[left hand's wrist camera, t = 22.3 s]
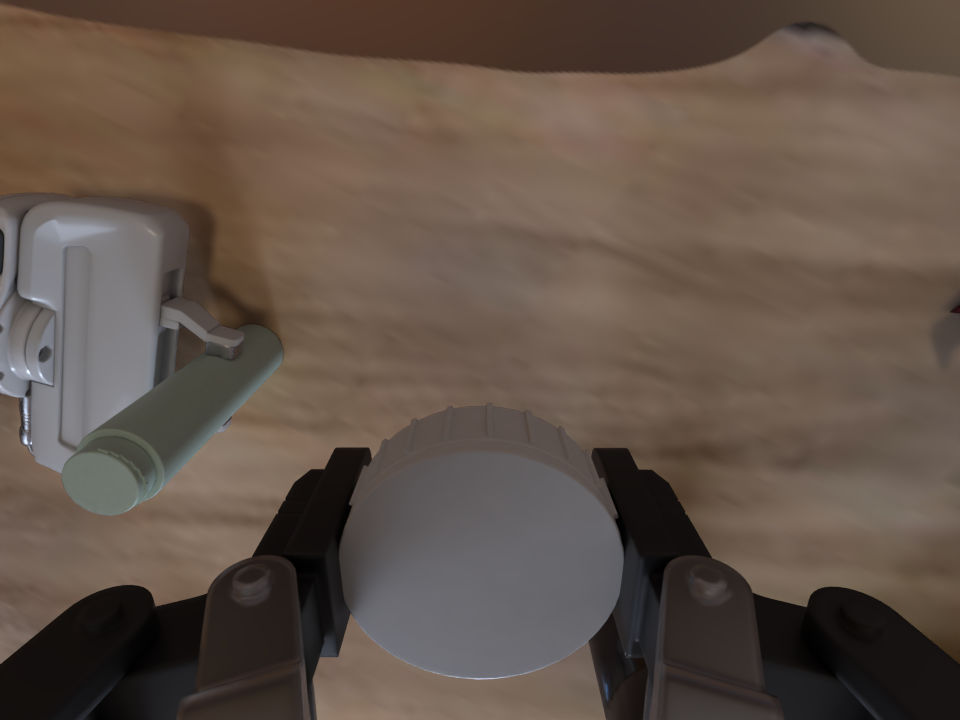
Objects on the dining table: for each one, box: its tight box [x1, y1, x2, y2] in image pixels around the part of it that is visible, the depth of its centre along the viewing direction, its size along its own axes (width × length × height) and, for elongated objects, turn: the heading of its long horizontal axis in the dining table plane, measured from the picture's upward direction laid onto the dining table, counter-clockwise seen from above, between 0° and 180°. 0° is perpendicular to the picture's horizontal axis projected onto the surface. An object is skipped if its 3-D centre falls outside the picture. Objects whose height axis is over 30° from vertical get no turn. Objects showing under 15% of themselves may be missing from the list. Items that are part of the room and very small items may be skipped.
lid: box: [339, 403, 624, 679], centre depth 10 cm, size 5×5×2 cm
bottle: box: [61, 324, 283, 515], centre depth 33 cm, size 4×4×18 cm
